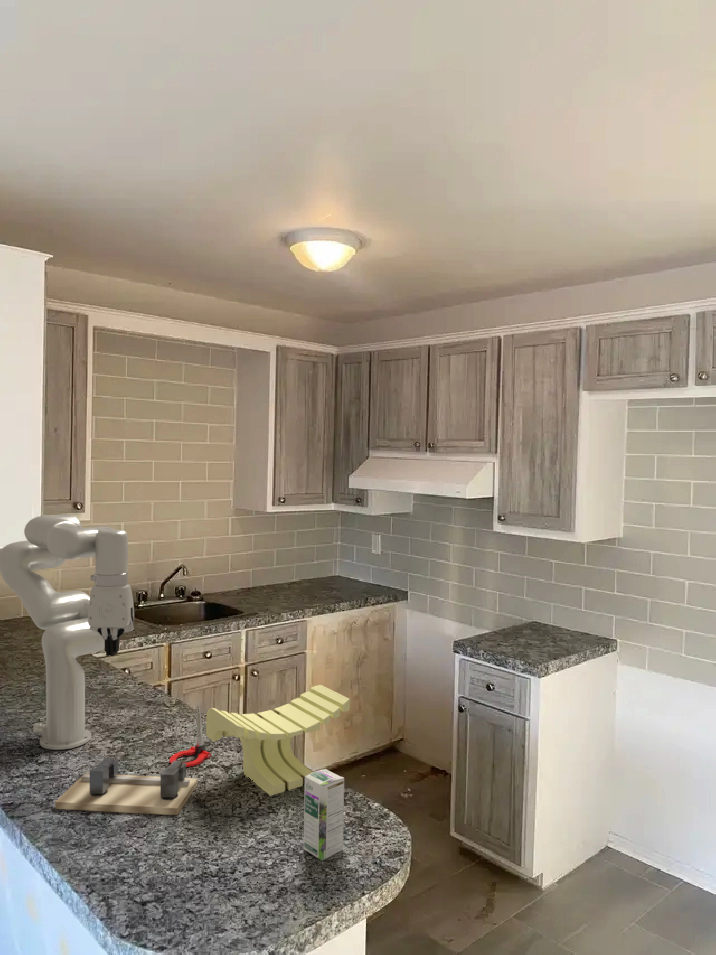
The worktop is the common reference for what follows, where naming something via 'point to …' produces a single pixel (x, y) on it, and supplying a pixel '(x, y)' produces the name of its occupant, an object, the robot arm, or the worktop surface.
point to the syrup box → (323, 813)
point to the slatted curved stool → (277, 736)
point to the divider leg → (103, 775)
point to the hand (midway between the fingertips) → (111, 654)
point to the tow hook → (198, 748)
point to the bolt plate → (134, 793)
